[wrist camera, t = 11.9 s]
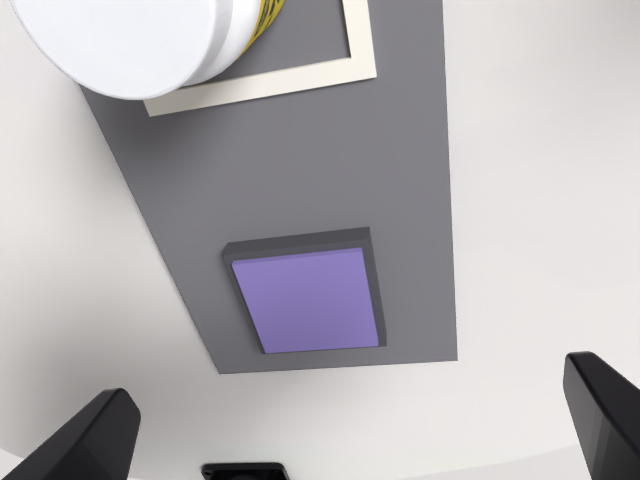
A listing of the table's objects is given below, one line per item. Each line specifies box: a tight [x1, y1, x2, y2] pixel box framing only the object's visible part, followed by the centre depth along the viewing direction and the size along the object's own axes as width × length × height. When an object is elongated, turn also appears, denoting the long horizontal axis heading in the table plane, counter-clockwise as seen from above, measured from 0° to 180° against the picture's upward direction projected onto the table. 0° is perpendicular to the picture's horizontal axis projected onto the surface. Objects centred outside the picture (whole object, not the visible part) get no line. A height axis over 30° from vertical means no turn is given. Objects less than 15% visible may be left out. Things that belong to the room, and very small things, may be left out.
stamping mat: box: [79, 0, 458, 374], centre depth 19 cm, size 14×26×2 cm, turn 11°
